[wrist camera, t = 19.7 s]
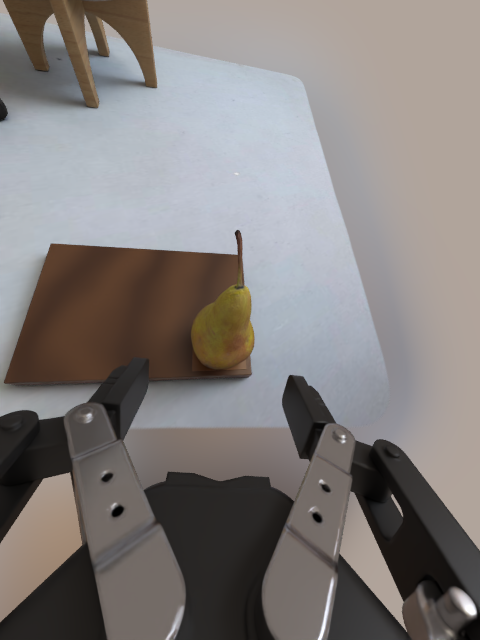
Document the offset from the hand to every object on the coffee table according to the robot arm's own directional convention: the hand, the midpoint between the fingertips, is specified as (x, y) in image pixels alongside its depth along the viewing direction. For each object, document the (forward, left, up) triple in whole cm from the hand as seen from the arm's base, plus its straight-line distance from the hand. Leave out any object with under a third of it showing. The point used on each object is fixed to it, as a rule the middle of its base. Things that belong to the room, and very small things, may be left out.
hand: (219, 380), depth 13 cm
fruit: (+3, -3, -8) cm, 9 cm away
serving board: (+11, +1, -9) cm, 14 cm away
